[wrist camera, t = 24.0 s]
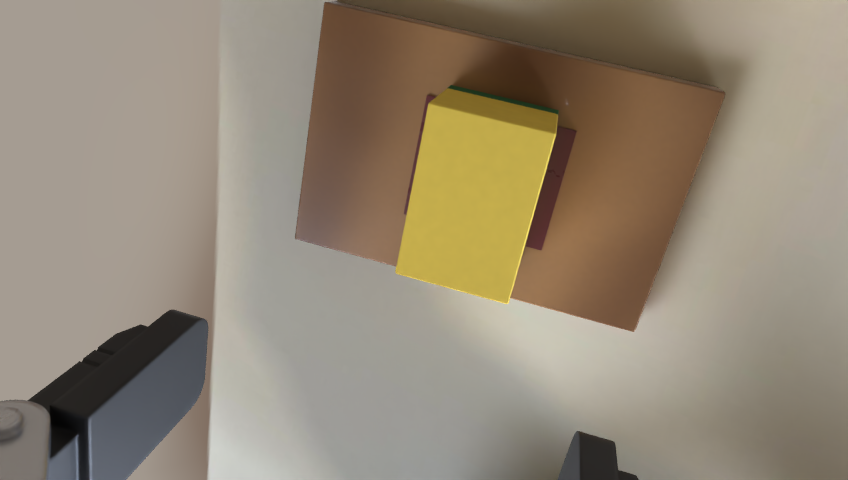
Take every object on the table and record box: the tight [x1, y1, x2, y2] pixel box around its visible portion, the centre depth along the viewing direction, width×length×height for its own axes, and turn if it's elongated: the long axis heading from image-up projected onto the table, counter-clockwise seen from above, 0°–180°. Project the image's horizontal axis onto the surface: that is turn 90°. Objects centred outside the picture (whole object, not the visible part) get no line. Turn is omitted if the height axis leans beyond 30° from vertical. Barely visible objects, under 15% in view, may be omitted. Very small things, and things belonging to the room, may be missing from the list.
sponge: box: [395, 85, 559, 304], centre depth 28 cm, size 8×5×5 cm, turn 169°
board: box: [295, 1, 725, 332], centre depth 31 cm, size 18×12×2 cm, turn 79°
